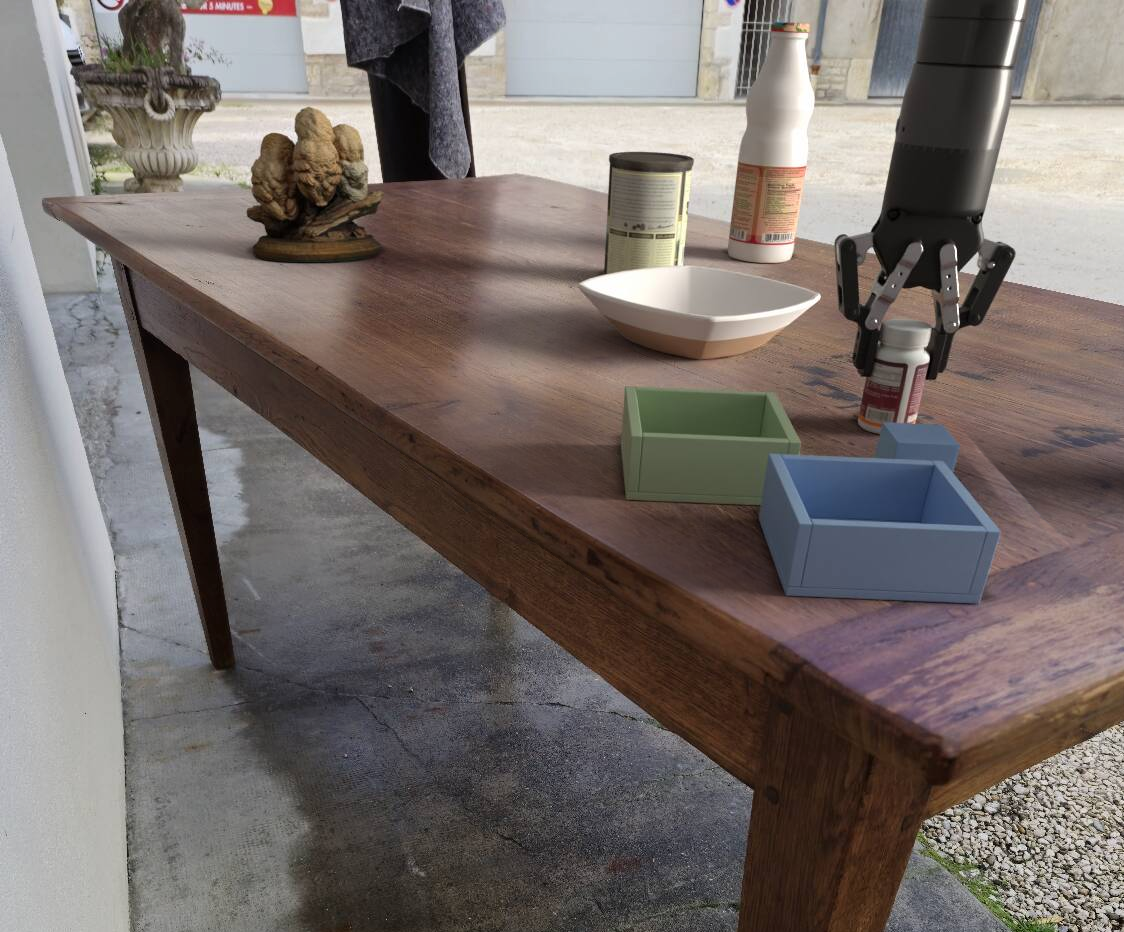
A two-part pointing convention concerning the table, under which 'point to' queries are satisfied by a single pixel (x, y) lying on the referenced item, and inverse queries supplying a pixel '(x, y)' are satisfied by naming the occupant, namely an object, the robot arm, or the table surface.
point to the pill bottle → (896, 374)
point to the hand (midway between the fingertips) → (896, 375)
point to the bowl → (696, 308)
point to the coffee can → (646, 210)
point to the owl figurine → (313, 194)
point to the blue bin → (875, 529)
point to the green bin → (701, 444)
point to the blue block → (917, 443)
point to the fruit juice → (773, 152)
